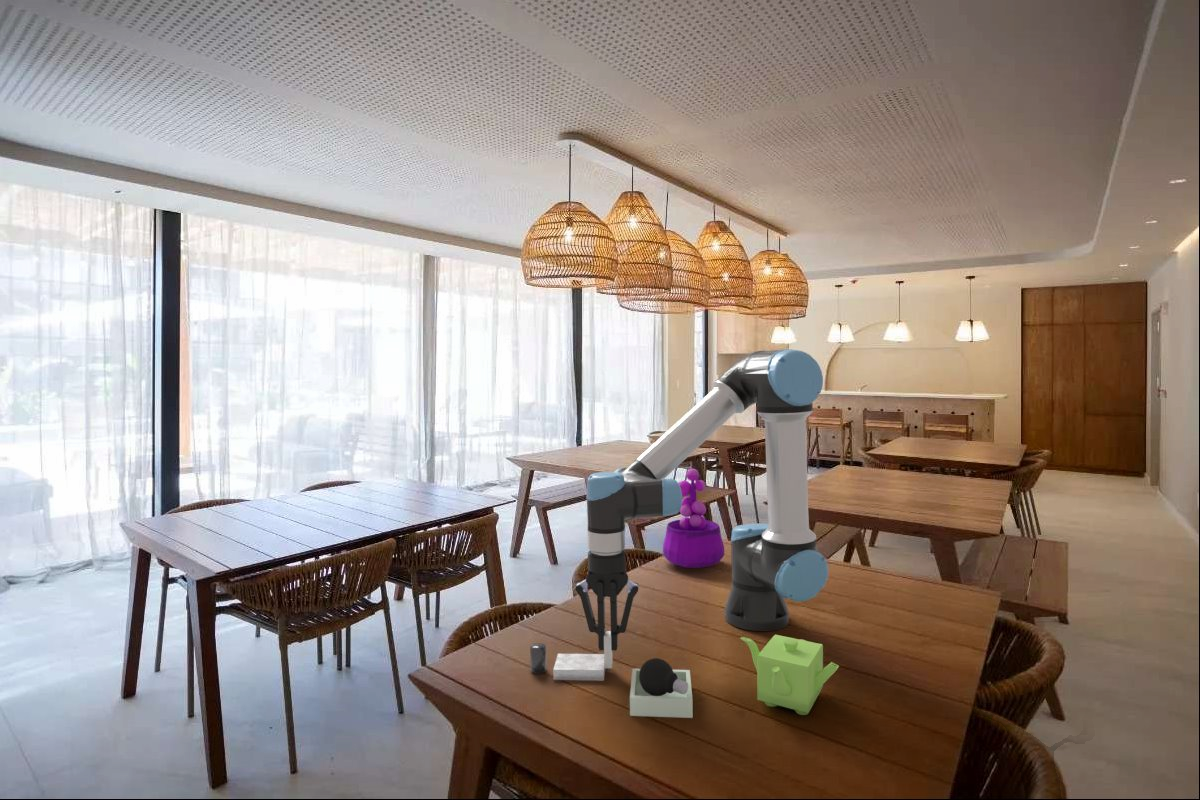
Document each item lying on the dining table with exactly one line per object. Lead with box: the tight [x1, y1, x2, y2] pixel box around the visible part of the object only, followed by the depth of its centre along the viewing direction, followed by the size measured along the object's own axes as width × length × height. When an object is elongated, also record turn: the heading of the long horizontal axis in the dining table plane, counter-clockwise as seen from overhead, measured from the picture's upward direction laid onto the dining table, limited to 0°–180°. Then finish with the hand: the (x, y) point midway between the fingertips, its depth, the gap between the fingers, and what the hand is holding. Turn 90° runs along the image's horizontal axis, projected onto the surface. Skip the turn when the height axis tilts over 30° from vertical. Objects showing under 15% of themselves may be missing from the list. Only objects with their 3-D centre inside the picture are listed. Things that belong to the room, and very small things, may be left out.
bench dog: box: [529, 642, 547, 675], centre depth 132 cm, size 3×3×5 cm
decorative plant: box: [662, 468, 725, 569], centre depth 198 cm, size 19×18×30 cm
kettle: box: [740, 634, 840, 716], centre depth 118 cm, size 15×14×11 cm
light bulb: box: [639, 658, 688, 696], centre depth 117 cm, size 6×6×10 cm
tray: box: [629, 668, 694, 719], centre depth 119 cm, size 11×11×3 cm
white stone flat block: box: [552, 653, 606, 681], centre depth 131 cm, size 10×7×2 cm
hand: (608, 665), depth 130 cm, fingers closed
